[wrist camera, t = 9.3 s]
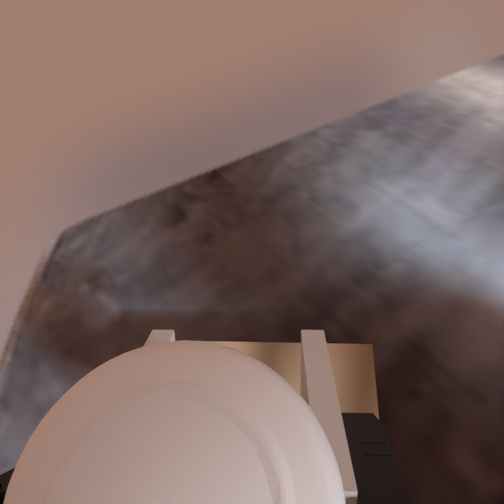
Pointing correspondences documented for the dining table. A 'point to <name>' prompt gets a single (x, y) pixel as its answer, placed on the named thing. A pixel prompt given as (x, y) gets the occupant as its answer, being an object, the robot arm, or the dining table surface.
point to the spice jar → (178, 435)
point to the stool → (342, 362)
